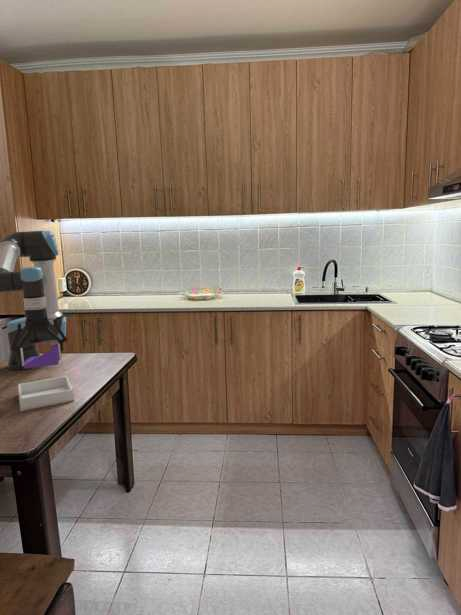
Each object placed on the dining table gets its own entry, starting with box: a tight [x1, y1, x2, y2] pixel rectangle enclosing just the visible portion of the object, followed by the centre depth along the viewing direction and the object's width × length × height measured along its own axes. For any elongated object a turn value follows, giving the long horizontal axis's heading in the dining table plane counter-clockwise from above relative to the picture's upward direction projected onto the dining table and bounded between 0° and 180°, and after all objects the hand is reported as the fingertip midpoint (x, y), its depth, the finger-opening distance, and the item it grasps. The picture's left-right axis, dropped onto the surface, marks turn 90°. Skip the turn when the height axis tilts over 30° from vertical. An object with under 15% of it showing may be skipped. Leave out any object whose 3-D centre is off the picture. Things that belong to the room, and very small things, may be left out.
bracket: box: [24, 343, 60, 370], centre depth 171 cm, size 12×7×7 cm, turn 109°
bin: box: [17, 375, 75, 412], centre depth 174 cm, size 19×19×5 cm
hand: (42, 362), depth 172 cm, fingers closed on bracket, 12 cm apart
